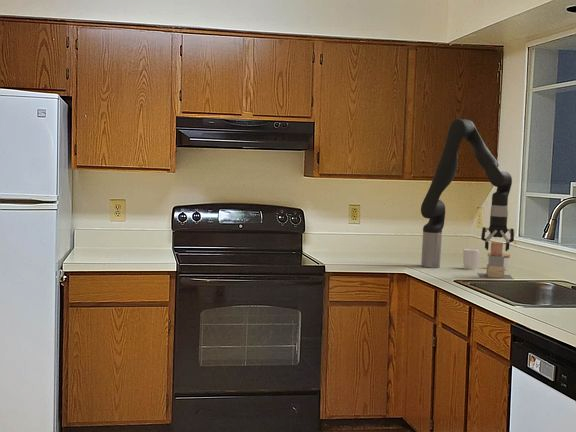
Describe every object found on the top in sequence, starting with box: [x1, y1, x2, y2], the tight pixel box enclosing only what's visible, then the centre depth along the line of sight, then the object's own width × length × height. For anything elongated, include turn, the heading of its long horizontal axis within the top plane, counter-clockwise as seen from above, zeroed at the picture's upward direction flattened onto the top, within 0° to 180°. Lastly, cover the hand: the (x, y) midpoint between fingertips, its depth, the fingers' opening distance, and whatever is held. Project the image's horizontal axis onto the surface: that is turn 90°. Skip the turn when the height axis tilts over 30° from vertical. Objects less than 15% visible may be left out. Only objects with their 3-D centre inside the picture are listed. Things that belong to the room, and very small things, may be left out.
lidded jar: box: [487, 252, 511, 270], centre depth 369 cm, size 11×11×9 cm
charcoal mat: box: [476, 272, 515, 280], centre depth 344 cm, size 13×15×1 cm
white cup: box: [462, 248, 481, 271], centre depth 364 cm, size 8×8×10 cm
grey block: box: [487, 254, 504, 267], centre depth 343 cm, size 6×6×4 cm
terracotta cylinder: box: [489, 241, 504, 256], centre depth 342 cm, size 5×5×6 cm
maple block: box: [486, 263, 506, 278], centre depth 343 cm, size 7×7×5 cm
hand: (496, 250), depth 343 cm, fingers open, 8 cm apart
